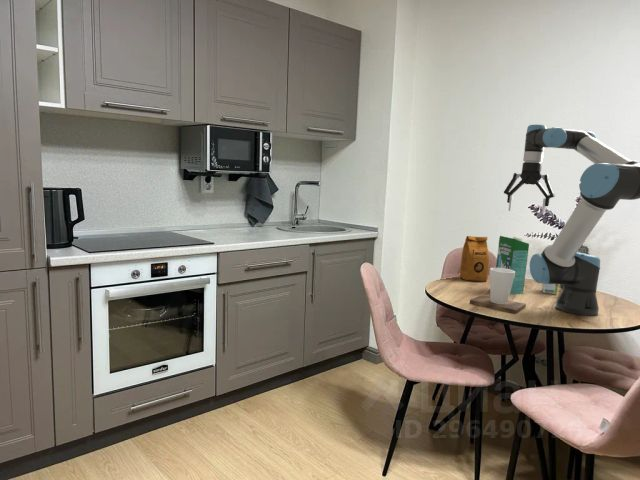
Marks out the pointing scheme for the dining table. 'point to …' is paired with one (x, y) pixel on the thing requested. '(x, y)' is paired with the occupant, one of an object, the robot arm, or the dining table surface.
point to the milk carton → (513, 260)
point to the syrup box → (550, 288)
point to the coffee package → (475, 259)
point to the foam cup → (500, 284)
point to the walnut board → (509, 307)
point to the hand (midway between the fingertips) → (526, 212)
